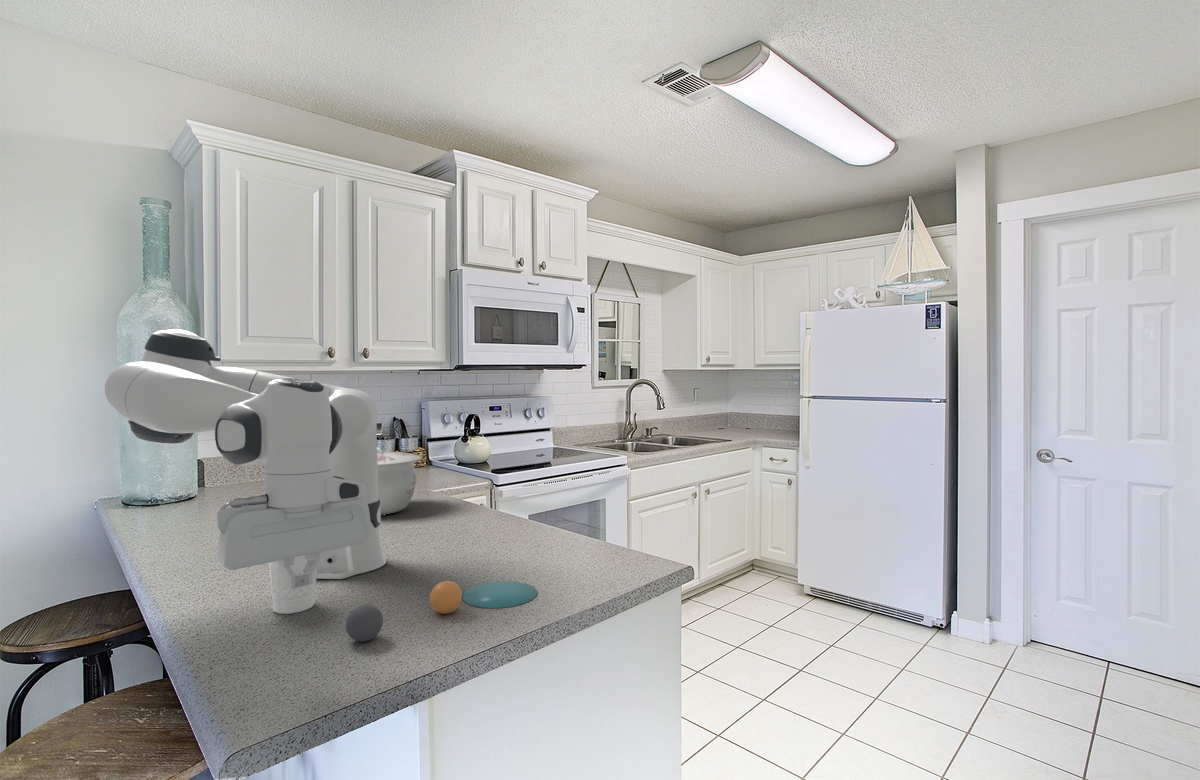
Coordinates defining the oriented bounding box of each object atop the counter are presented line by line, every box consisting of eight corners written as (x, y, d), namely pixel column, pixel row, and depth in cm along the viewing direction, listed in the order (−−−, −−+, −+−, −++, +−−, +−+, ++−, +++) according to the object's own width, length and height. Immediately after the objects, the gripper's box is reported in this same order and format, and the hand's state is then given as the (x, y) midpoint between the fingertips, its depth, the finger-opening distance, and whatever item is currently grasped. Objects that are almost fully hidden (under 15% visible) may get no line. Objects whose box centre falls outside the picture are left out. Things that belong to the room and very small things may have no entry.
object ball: (427, 619, 103) (427, 587, 103) (432, 607, 109) (431, 577, 108) (460, 617, 104) (460, 585, 104) (463, 606, 109) (463, 575, 109)
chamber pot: (405, 522, 176) (405, 451, 175) (312, 522, 176) (311, 451, 176) (433, 502, 204) (433, 441, 203) (352, 503, 204) (352, 441, 204)
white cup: (281, 600, 113) (280, 546, 113) (324, 598, 113) (324, 545, 113) (261, 616, 105) (260, 559, 105) (308, 614, 106) (307, 557, 105)
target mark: (493, 614, 105) (493, 613, 105) (447, 595, 115) (447, 594, 115) (552, 593, 116) (552, 592, 116) (505, 577, 125) (505, 576, 125)
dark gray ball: (341, 648, 92) (341, 613, 92) (350, 634, 97) (350, 600, 97) (379, 646, 93) (378, 610, 93) (386, 631, 98) (386, 598, 98)
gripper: (225, 504, 78) (226, 611, 78) (375, 484, 93) (376, 573, 93) (210, 498, 82) (210, 599, 82) (356, 479, 97) (356, 565, 97)
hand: (299, 585), depth 88 cm, fingers closed
